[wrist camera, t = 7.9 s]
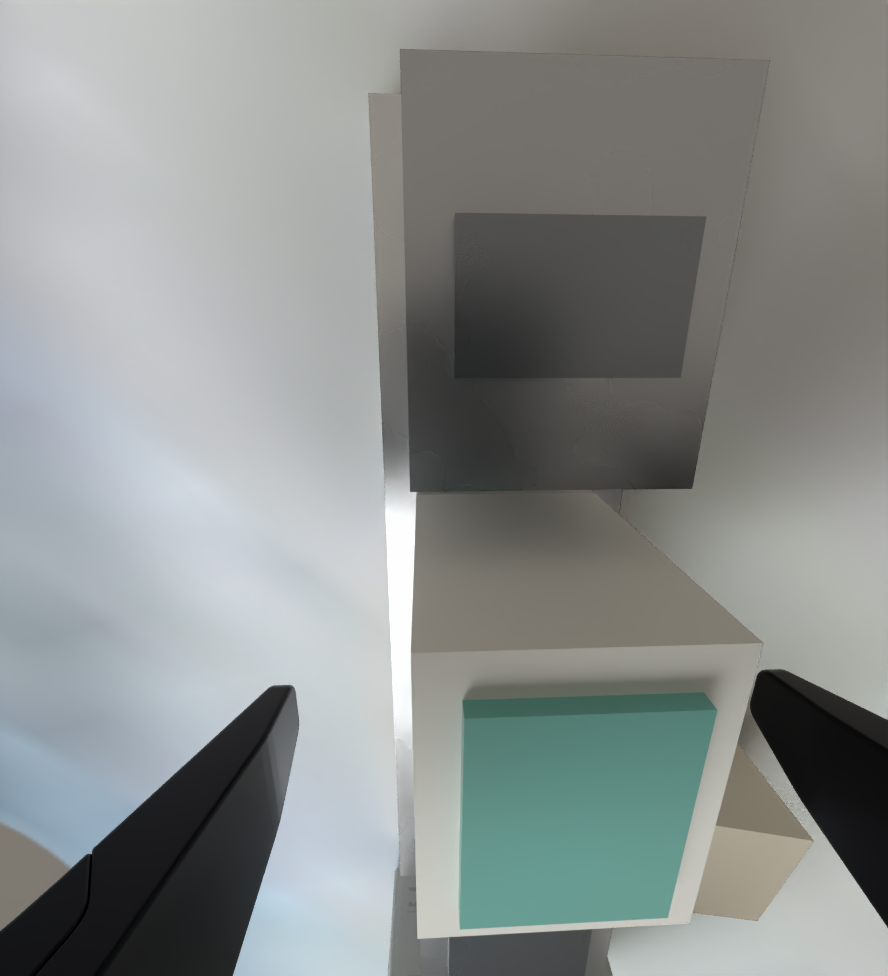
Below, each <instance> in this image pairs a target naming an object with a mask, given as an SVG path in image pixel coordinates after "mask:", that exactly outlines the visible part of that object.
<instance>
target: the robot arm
mask: <svg viewBox="0 0 888 976" xmlns="http://www.w3.org/2000/svg"><path fill="white" fill-rule="evenodd" d="M750 709H751V713H752V716H753V718H754V720H755V721H756V723H757V725H758V727H759V728H760V730H761V732H762V734H763V735H764V737H765V739H766V741H767V742H768V744H769V746H770V748H771V749H772V751H773V753H774V755H775V756H776V758H777V760H778V762H779V763H780V765H781V767H782V769H783V770H784V772H785V774H786V776H787V777H788V779H789V781H790V783H791V784H792V786H793V788H794V789H795V791H796V793H797V794H798V796H799V798H800V799H801V801H802V802H803V804H804V805H805V807H806V808H807V810H808V811H809V813H810V814H811V816H812V817H813V819H814V820H815V822H816V823H817V825H818V826H819V828H820V829H821V831H822V832H823V833H824V835H825V836H826V838H827V839H828V841H829V842H830V844H831V845H832V847H833V848H834V850H835V851H836V853H837V854H838V855H839V857H840V858H841V860H842V861H843V863H844V864H845V866H846V867H847V869H848V870H849V872H850V873H851V874H852V876H853V877H854V879H855V880H856V882H857V883H858V885H859V886H860V888H861V889H862V891H863V892H864V894H865V895H866V896H867V898H868V899H869V901H870V902H871V904H872V905H873V907H874V908H875V910H876V911H877V913H878V914H879V916H880V917H881V918H882V920H883V921H884V923H885V924H886V926H887V927H888V720H887V719H884V718H882V717H880V716H878V715H876V714H874V713H872V712H870V711H868V710H866V709H864V708H862V707H860V706H858V705H856V704H854V703H852V702H850V701H847V700H845V699H843V698H841V697H839V696H837V695H835V694H833V693H831V692H829V691H827V690H825V689H823V688H821V687H819V686H817V685H815V684H813V683H810V682H808V681H806V680H804V679H802V678H800V677H798V676H796V675H794V674H792V673H790V672H788V671H786V670H781V669H771V670H762V671H760V672H759V673H758V675H757V678H756V682H755V686H754V689H753V693H752V697H751V701H750ZM298 730H299V716H298V708H297V700H296V692H295V689H294V687H293V686H292V685H275V686H271V687H269V688H268V689H267V690H266V691H265V692H264V693H263V694H262V695H260V696H259V697H258V698H257V699H256V700H255V701H254V702H253V703H252V704H251V705H250V706H248V707H247V708H246V709H245V710H244V711H243V712H242V713H241V714H240V715H239V716H237V717H236V718H235V719H234V720H233V721H232V722H231V723H230V724H229V725H228V726H227V727H225V728H224V729H223V730H222V731H221V732H220V733H219V734H218V735H217V736H216V737H215V738H213V739H212V740H211V741H210V742H209V743H208V744H207V745H206V746H205V747H204V748H203V749H201V750H200V751H199V752H198V753H197V754H196V755H195V756H194V757H193V758H192V759H191V760H189V761H188V762H187V763H186V764H185V765H184V766H183V767H182V768H181V769H180V770H178V771H177V772H176V773H175V774H174V775H173V776H172V777H171V778H170V779H169V780H168V781H166V782H165V783H164V784H163V785H162V786H161V787H160V788H159V789H158V790H157V791H156V792H154V793H153V794H152V795H151V796H150V797H149V798H148V799H147V800H146V801H145V802H144V803H142V804H141V805H140V806H139V807H138V808H137V809H136V810H135V811H134V812H133V813H132V814H130V815H129V816H128V817H127V818H126V819H125V820H124V821H123V822H122V823H121V824H120V825H118V826H117V827H116V828H115V829H114V830H113V831H112V832H111V833H110V834H109V835H107V836H106V837H105V838H104V839H103V840H102V841H101V842H100V843H99V844H98V845H97V846H95V847H94V848H93V850H92V854H87V855H85V856H84V857H83V858H82V859H81V860H80V861H79V862H78V863H77V864H76V865H74V866H73V867H72V868H71V869H70V870H69V871H68V872H67V873H66V874H65V875H64V876H62V878H60V879H59V880H58V881H57V882H56V883H55V884H54V885H52V886H51V887H50V888H49V889H48V890H47V891H46V892H44V893H43V895H41V896H40V897H39V898H38V899H37V900H36V901H34V902H33V903H32V904H31V905H30V906H29V907H28V908H27V909H25V910H24V911H23V912H22V913H21V914H20V915H19V916H17V917H16V918H15V919H14V920H13V921H12V922H10V923H9V924H8V925H7V926H6V927H5V928H3V929H2V930H1V931H0V976H233V973H234V970H235V967H236V963H237V960H238V957H239V954H240V950H241V947H242V944H243V941H244V937H245V934H246V931H247V928H248V925H249V921H250V918H251V915H252V912H253V908H254V905H255V902H256V899H257V895H258V892H259V889H260V886H261V882H262V879H263V876H264V873H265V870H266V866H267V863H268V860H269V857H270V853H271V850H272V847H273V844H274V840H275V837H276V834H277V830H278V827H279V823H280V819H281V814H282V810H283V805H284V800H285V795H286V790H287V785H288V780H289V776H290V771H291V766H292V761H293V756H294V751H295V746H296V741H297V736H298Z"/></svg>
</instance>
